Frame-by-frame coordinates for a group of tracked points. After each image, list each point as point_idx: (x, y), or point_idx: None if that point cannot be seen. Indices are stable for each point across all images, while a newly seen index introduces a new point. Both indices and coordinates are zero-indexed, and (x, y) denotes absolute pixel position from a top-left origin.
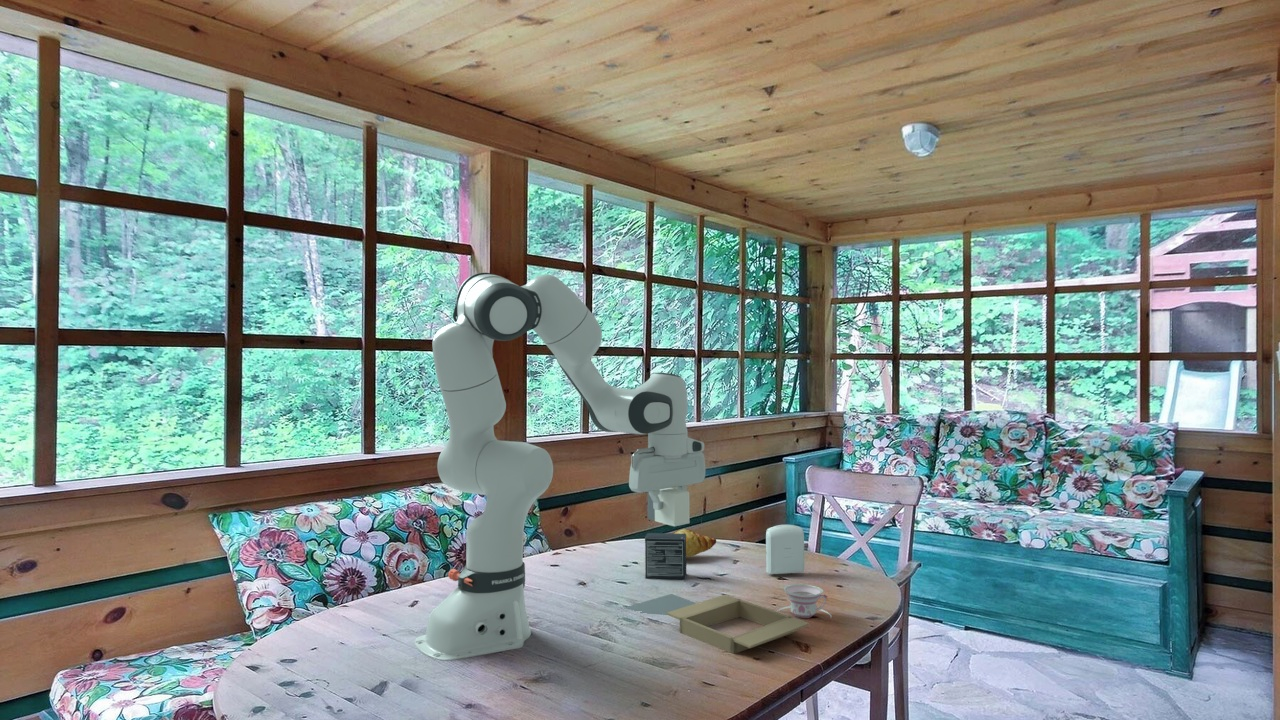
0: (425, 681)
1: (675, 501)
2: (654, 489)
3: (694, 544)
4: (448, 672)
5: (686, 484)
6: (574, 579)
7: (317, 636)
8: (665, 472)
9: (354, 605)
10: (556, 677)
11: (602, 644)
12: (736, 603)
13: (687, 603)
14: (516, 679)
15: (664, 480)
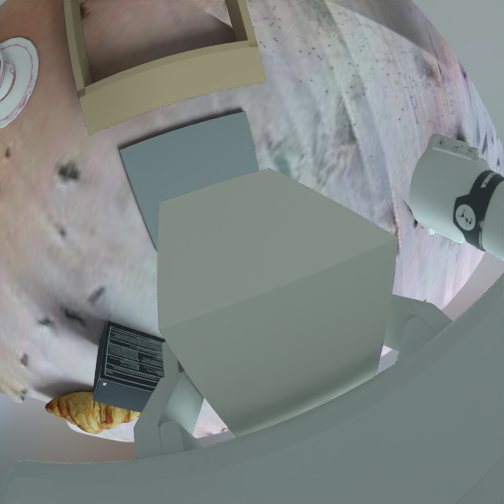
0: (473, 134)
1: (340, 212)
2: (482, 301)
3: (75, 403)
4: (464, 139)
5: (148, 460)
6: None
7: (473, 254)
8: (492, 452)
9: (440, 309)
10: (419, 63)
11: (357, 101)
12: (94, 83)
13: (151, 192)
14: (440, 86)
15: (462, 394)
